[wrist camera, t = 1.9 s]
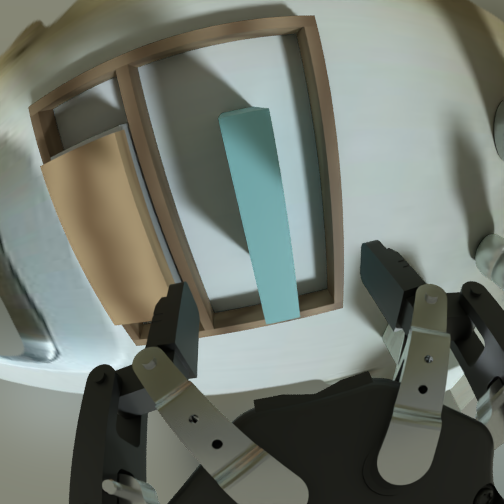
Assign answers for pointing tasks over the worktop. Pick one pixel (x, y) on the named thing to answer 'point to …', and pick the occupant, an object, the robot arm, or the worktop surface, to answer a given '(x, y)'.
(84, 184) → the oak offcut top
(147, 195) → the grey flat panel
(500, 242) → the plastic bottle
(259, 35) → the tray
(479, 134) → the worktop surface
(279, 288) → the teal block
